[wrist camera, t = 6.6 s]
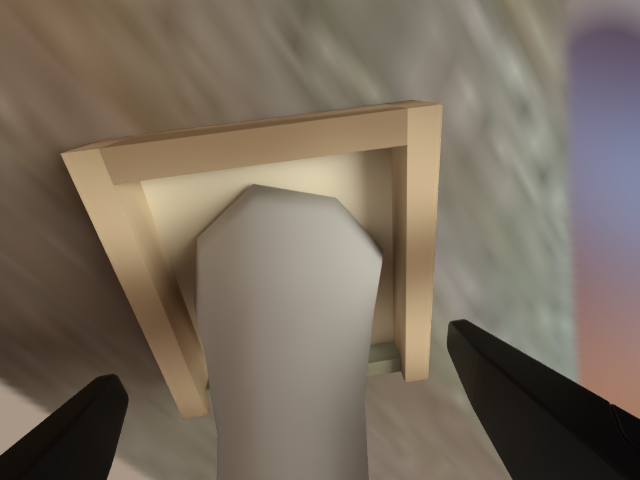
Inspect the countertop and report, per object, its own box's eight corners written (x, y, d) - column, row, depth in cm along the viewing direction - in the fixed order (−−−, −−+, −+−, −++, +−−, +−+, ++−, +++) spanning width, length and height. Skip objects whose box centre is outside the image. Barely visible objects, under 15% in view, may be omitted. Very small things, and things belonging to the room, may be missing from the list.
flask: (165, 307, 13) (-104, 810, 4) (240, 144, 11) (-12, 492, 2) (320, 361, 15) (374, 771, 6) (413, 237, 13) (724, 609, 4)
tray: (408, 339, 16) (428, 378, 14) (197, 372, 16) (183, 418, 14) (412, 100, 11) (442, 103, 9) (105, 139, 11) (60, 153, 9)
